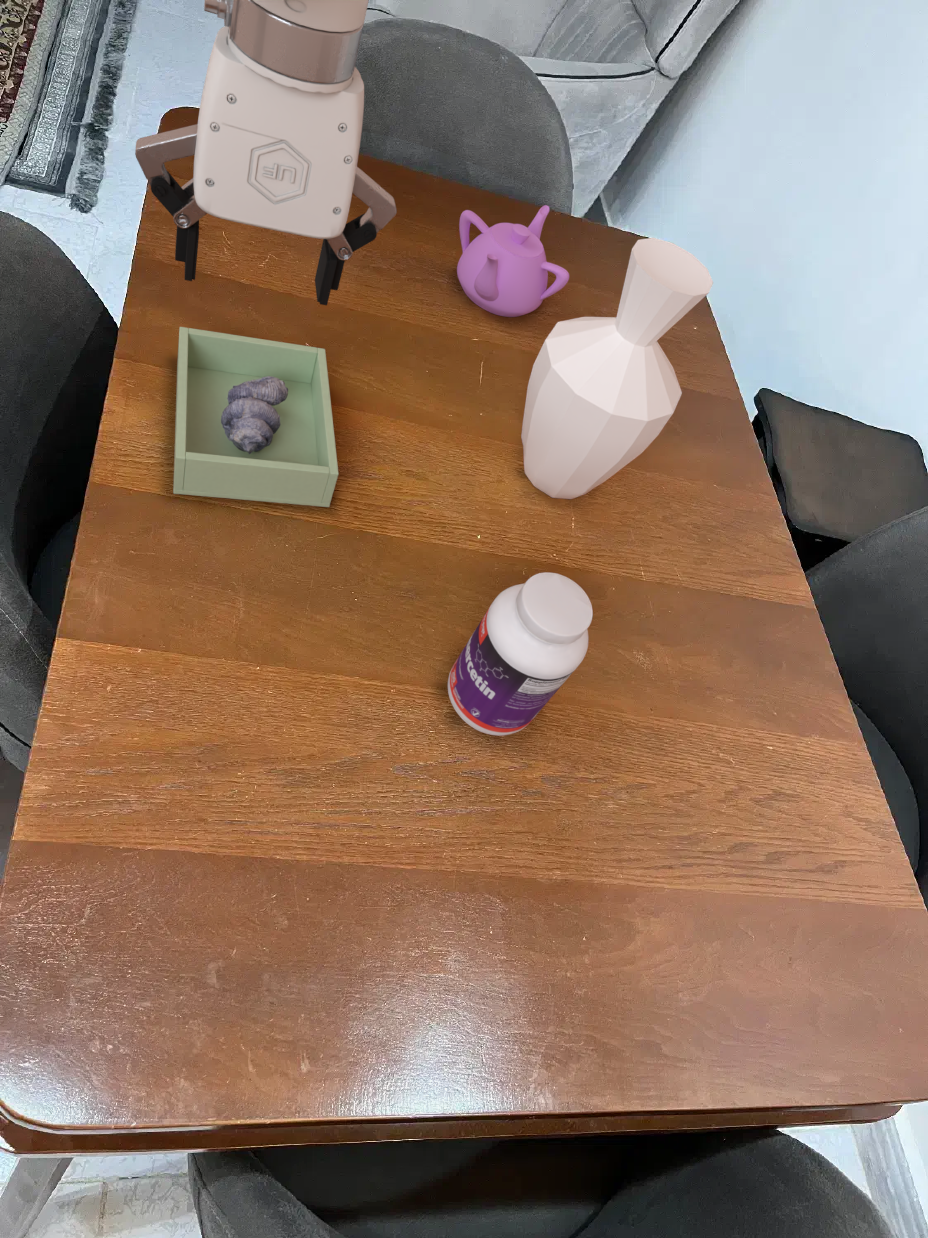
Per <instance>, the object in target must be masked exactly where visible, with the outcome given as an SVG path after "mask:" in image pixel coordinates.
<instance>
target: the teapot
mask: <svg viewBox="0 0 928 1238" xmlns="http://www.w3.org/2000/svg"><path fill="white" fill-rule="evenodd" d="M549 213H550V206H549V205H547V204H544V205H542V207H540V209H538V212H537V213H536V215H535V217H534V218H533V219H532V221H531V222H530V223H529V225H528V226H526V225H523V224H521V223H512V222H499V223H495V224H494V225H492V226H490V227H489V226H488V225H487V224H486V222H485V221H484V220H483V219H482V218H481V217H480V216H479V215H478V214H476V212H474V211H472V210H470V209H465V210H463V211H462V213H461V214H460V217H459V224H458V227H459V230H458V231H459V238H460V245H461V250H462V254H461V256H460V258H459V260H458V262H457V265H456V274H457V279H458V281H459V284H460V286H461V288H462V290H463V292H464V294H465V295H466V297H467V298H468V299H469V300H470V301H472V302H473V303H474V304H475V305H476V306H478V307H479V308H481V309H482V310H484V311H487V312H488V313H490V314H494V315H497V316H500V317H506V318H517V317H521V316H524V315H527V314H530V313H532V312H534V311H535V310H537V309H538V308H539V307H540V306H541V305H542V303H543V300H545V299H547V298H549V297H551V296H552V295H555V294H556V293H558V292H559V291H561V290H562V289H563V288H564V287H565V286H566V285H567V284H568V282H569V280H570V273H569V272H568V270H567V269H566V268H565V267H562V266H560V265H558V264H555V263H552V262H550V261H547V256H546V251H545V248H544V245H543V243H542V241H541V240H540V239H541V235H542V231H543V227H544V224H545V222H546V218H547V217H548V215H549ZM471 224H473V225H474V226H475V227H476V228H477V229H478V230H479V231H480V232H481V233H480V234H479V235H477V236H476V237H475V238H474V239H473V240H472V241H470V227H471ZM548 272H549V273H552V274H554V275H555V280H554V281H553V283H552V284H551V285H550V286H548V280H549V273H548Z"/></svg>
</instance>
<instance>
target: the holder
mask: <svg viewBox="0 0 928 1238" xmlns="http://www.w3.org/2000/svg"><path fill="white" fill-rule="evenodd" d="M177 346H178V347H177V362H176V390H175V391H176V394H175V421H174V422H175V424H174V427H175V428H174V454H173V455H174V457H173V458H174V459H173V491H172V493H173V494H174V495H185V496H186V495H187V496H197V497H207V498H220V499H231V500H242V501H243V500H244V501H254V502H263V503H265V502H266V503H278V504H286V505H287V504H288V505H299V506H310V507H311V506H312V507H322V508H330V507H331V501H332V498H333V495H334V492H335V488H336V484H337V481H338V478H339V473H340V472H339V465H338V456H337V446H336V437H335V428H334V427H335V426H334V418H333V410H332V399H331V389H330V380H329V371H328V363H327V352H326V348H321V347H316V346H309V345H303V344H296V343H289V342H283V341H277V340H270V339H262V338H257V337H250V336H246V335H245V336H244V335H238V334H232V333H225V332H219V331H213V330H206V329H198V328H192V327H186V326H179V329H178V345H177ZM267 376H272V377H276V378H278V379H280V380H281V381H283V382H285V387H287V388H288V395H287V398H286V400H285V401H283V402H281V403H280V404H278V405H275V406H272V405H271V406H272V407H273V408H274V409H276V411H277V413H278V415H279V416H280V424H281V425H280V427H279V429H278V430H277V432H276V433H275V434H273V439H272V442H271V444H270V445H269V446H267V447H265V448H263V449H262V450H260V451H258V452H252V453H251V454H249V453H248V452H244V451H241V450H239V449H238V448H237V447H236V446H235V445H234V444H233V442H232V441H229V439H228V438H227V436H226V434H225V430H224V429H223V426H222V423H221V416H222V413H223V411H224V409H225V408H226V407H227V406H228V405H229V403H228V399H227V397H228V392H229V390H231V389H232V388H233V386H236V385H239V384H242V383H244V382H246V381H251V380H256V379H261V378H262V377H263V378H264V377H267Z"/></svg>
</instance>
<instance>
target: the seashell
mask: <svg viewBox="0 0 928 1238" xmlns="http://www.w3.org/2000/svg"><path fill="white" fill-rule="evenodd" d="M287 395H288V388H287V387H285V382H283V381H281V380H280V379H278V378H276V377H272V376H267V377H264V378H263V377H262V378H261V379H256V380H251V381H246V382H244V383H242V384H239V385H236V386H233V388H232V389H231V390H229V392H228V397H227V399H228V403H229V405H228V406H227V407H226V408H225V409H224V411H223V413H222V416H221V423H222V426H223V429H224V430H225V434H226V436H227V438H228V439H229V441H232V442H233V444H234V445H235V446H236V447H237V448H238V449H239V450H241V451H244V452H248V453H249V454H251V453H252V452H258V451H260V450H262V449H263V448H265V447H267V446H269V445H270V444H271V442H272V439H273V434H275V433H276V432H277V430H278V429H279V427H280V425H281V424H280V416H279V415H278V413H277V411H276V409H274V408H273V407H272V406H275V405H278V404H280V403H281V402H283V401H285V400H286V398H287ZM271 405H272V406H271Z"/></svg>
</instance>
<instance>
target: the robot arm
mask: <svg viewBox="0 0 928 1238" xmlns="http://www.w3.org/2000/svg"><path fill="white" fill-rule="evenodd" d="M203 5H204V6H203V7H204V8H203V9H204V10H203V11H204V12H207V13H210V14H214V15H217V16H216V17H217V18H218V19H221V20H223V25H224V26H223V27H221V28H220V29H218V31H217V33H216V35H215V39H214V41H213V45H212V47H211V48H212V49H211V52H210V55H209V58H208V63H207V68H206V73H205V79H204V83H203V87H202V92H201V99H200V105H199V111H198V119H197V123H196V124H192V125H188V126H184V127H179V128H174V129H171V130H167V131H164V132H160V133H154V134H151V135H148V136H142V137H138V138H137V140H136V141H135V151H134V156H135V158H136V161H137V162H138V164H139V166H140V169H141V171H142V173H143V175H144V178H145V179H146V180H147V182H148V184H149V186H150V190H151V193H152V194H153V196H154V197H155V198H156V200H158V201H159V203H161V205H162V206H163V207H164V208H165V209H166V211H168V213H169V214H170V215H171V216H172V217H173V222H174V224H175V225H176V233H175V235H176V236H175V251H174V252H175V253H174V261H176V262H182V263H184V281H188V282H193V280H194V281H195V280H196V275H197V273H196V272H197V261H198V250H199V239H200V220H201V219H202V218H203V217H204V216H206V215H207V214H208V215H209V216H212V217H215V218H218V219H222V220H225V221H229V222H234V223H238V224H243V225H246V226H247V225H248V226H252V227H255V228H256V227H257V228H260V229H262V228H263V229H266V230H270V231H271V230H272V231H275V232H276V231H277V232H281V233H286V234H291V235H295V236H300V237H307V238H312V239H317V240H318V239H319V240H322V242H321V243H322V244H321V249H320V253H319V258H318V262H317V266H316V267H317V268H316V272H315V277H314V287H315V293H316V302H318V303H319V305H322V306H328V302H329V298H330V295H331V290H332V291H338V290H339V286H340V282H341V278H342V275H343V274H342V273H343V270H344V266H345V263H346V261H348V260H350V259H351V258H352V256H353V253H354V252H355V251H358V250H359V249H361V248H363V247H364V246H366V245H368V244H370V243H371V242H373V241H375V239H376V238H377V236H378V233H379V232H380V231H382V230H383V229H384V228H385V227H386V226H387V225H388V223H389V222H390V221H391V220H392V219H393V218H395V216H396V214H397V211H398V210H397V206H396V201H395V198H394V197H393V196H392V195H391V194H390V193H389V192H388V191H387V190H386V189H384V188H383V187H381V185H380V184H379V183H378V182H376V181H375V180H374V179H372V177H370V176H369V175H368V174H366V173H365V172H364V170H362V169H361V168H360V167H358V162H359V156H360V155H359V153H360V148H361V140H362V132H363V123H364V110H365V109H364V108H365V83H364V80H363V79H362V75H361V73H360V71H359V70H358V68H357V67H356V63H357V59H358V53H359V50H360V49H359V48H360V44H361V39H362V34H363V29H364V26H365V25H364V24H365V20H366V15H367V11H368V5H369V0H204V4H203ZM192 156H194V157H193V176H192V177H191V179H190V180H188V181H187V182H186V183H184V184H183V185H182V186H181V185H180V184H179V182H178V181H177V180H176V179H175V178H174V177H173V175H172V174H171V173H170V172H169V171H168V170H167V168H166V165H165V163H167V162H172V161H177V160H180V159H184V158H188V157H192ZM353 195H354V196H355V197H357V198H358V200H360V201H361V202H362V203H364V204H365V205H366V206H367V207H368V209H366V212H365V213H362V214H360V215H359V216H357V217H355V218H353V219H352V220H350V221H348V218H349V213H350V208H351V202H352V198H353V197H352V196H353ZM347 221H348V222H347Z"/></svg>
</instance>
